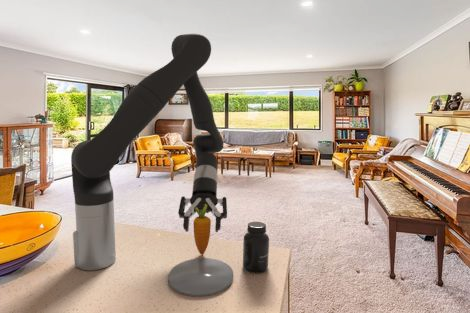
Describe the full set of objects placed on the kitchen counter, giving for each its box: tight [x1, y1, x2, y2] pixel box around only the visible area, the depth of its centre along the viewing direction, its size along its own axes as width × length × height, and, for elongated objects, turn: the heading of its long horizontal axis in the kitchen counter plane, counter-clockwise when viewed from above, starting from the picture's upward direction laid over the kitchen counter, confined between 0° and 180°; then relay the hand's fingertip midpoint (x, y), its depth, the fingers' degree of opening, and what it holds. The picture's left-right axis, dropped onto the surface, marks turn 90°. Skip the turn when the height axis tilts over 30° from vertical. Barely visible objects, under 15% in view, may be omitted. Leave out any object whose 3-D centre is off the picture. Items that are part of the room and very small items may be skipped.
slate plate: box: [168, 257, 234, 297], centre depth 72 cm, size 16×16×1 cm
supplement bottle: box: [242, 221, 270, 274], centre depth 76 cm, size 7×7×12 cm
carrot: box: [193, 204, 212, 256], centre depth 83 cm, size 5×5×15 cm
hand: (201, 230), depth 82 cm, fingers open, 8 cm apart
